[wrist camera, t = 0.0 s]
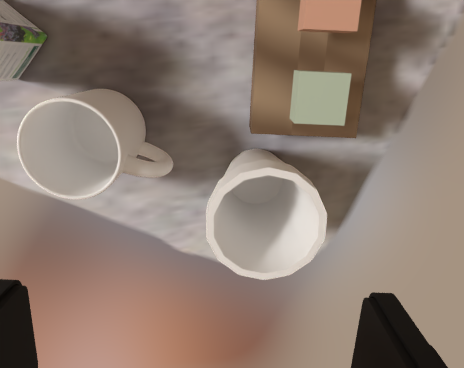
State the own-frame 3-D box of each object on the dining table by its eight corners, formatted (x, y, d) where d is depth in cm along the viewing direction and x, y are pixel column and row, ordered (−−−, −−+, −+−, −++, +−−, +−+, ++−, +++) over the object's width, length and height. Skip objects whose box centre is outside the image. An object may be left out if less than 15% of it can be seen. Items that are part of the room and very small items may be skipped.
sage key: (287, 68, 36) (299, 71, 29) (330, 70, 36) (351, 73, 29) (283, 112, 37) (294, 123, 31) (324, 114, 37) (344, 125, 31)
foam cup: (295, 216, 44) (321, 280, 31) (213, 216, 43) (207, 279, 31) (300, 133, 41) (331, 167, 28) (212, 133, 40) (205, 166, 28)
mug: (192, 120, 40) (180, 140, 30) (166, 189, 42) (147, 229, 33) (80, 74, 39) (29, 80, 29) (59, 149, 41) (5, 178, 31)
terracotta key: (294, -16, 33) (309, -33, 27) (340, -14, 33) (365, -30, 27) (290, 33, 35) (303, 28, 28) (334, 36, 35) (357, 31, 28)
